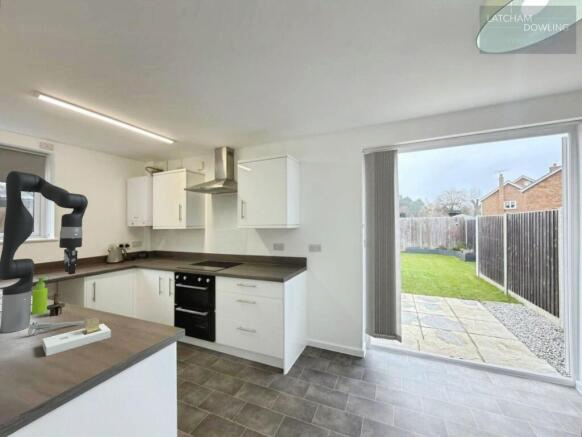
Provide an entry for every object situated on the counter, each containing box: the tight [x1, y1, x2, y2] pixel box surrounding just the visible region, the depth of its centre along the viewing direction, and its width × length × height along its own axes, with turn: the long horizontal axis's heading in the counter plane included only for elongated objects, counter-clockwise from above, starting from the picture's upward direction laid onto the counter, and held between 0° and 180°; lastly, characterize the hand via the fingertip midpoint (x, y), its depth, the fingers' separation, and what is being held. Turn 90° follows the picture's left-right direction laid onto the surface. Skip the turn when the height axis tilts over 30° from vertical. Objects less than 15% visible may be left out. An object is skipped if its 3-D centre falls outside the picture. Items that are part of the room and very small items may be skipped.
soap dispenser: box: [31, 276, 50, 315], centre depth 136 cm, size 6×7×20 cm
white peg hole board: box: [41, 323, 112, 357], centre depth 101 cm, size 12×20×3 cm, turn 141°
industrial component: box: [47, 292, 66, 317], centre depth 133 cm, size 9×7×12 cm
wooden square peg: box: [84, 316, 100, 335], centre depth 105 cm, size 4×4×8 cm
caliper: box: [27, 320, 85, 338], centre depth 113 cm, size 20×1×6 cm, turn 143°
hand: (69, 273), depth 107 cm, fingers open, 8 cm apart
